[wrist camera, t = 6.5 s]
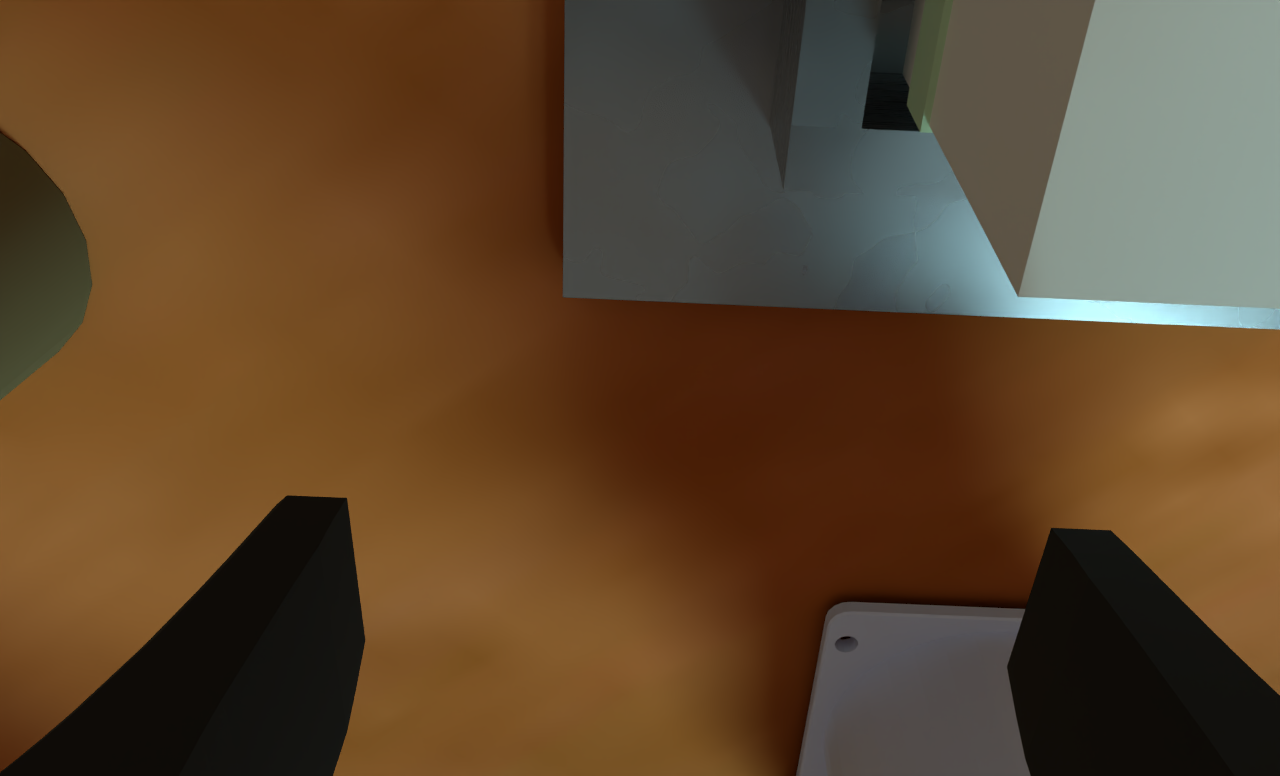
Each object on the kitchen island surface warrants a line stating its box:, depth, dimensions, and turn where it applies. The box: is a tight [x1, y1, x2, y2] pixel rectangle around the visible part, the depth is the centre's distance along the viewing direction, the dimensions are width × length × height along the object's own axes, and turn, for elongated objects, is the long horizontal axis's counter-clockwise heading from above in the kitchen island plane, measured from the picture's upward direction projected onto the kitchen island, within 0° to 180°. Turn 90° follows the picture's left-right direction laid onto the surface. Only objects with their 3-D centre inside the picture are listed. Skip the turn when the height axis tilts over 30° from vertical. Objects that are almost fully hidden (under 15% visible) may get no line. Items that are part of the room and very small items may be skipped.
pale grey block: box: [902, 0, 1280, 309], centre depth 13 cm, size 4×4×6 cm
